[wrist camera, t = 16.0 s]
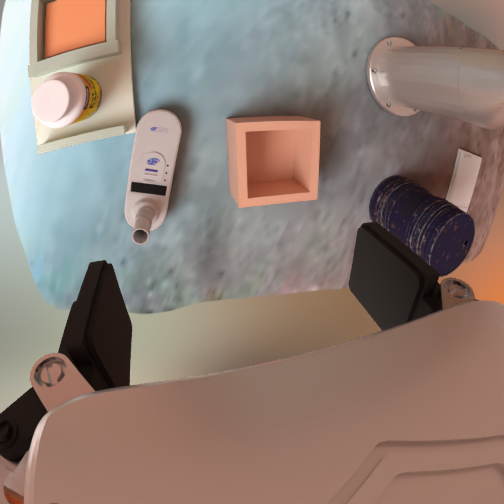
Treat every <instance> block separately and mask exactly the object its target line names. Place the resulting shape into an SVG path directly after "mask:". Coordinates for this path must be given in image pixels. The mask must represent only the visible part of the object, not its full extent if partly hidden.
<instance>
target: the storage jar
mask: <svg viewBox="0 0 504 504" xmlns="http://www.w3.org/2000/svg"><path fill="white" fill-rule="evenodd" d="M369 215H370V219H371V221H372V222H377V223H378V224H380V225H381V226H382V227H384V228H385V229H386V230H388V231H389V232H390V233H391V234H393V235H394V236H395V237H396V238H398V239H399V240H400V241H401V242H403V243H404V244H405V245H406V246H408V247H409V248H410V249H411V250H412V251H414V252H415V253H416V254H417V255H418V256H420V257H421V258H422V259H423V260H424V261H426V262H427V263H428V264H429V265H430V266H431V267H433V268H434V269H435V270H436V271H437V272H438V273H439V274H440V275H439V277H443V276H446V275H448V274H450V273H451V272H453V271H454V270H455V269H456V268H457V267H458V266H459V265H460V264H461V263H462V262H463V260H464V259H465V258H466V256H467V254H468V252H469V250H470V248H471V246H472V243H473V240H474V235H475V223H474V220H473V218H472V217H471V215H469V214H467V213H466V212H464V211H463V210H461V209H459V208H458V207H457V206H456V205H454V204H452V203H451V202H448V201H447V200H445V199H442V198H439V197H436V196H434V195H432V194H430V193H429V192H428V191H427V190H426V189H424V188H423V187H421V186H420V185H418V184H416V183H414V182H413V181H409V180H407V179H405V178H403V177H401V176H391V177H388V178H386V179H385V180H383V181H382V182H381V183H380V184H379V185H378V186H377V188H376V189H375V191H374V192H373V194H372V197H371V200H370V204H369Z"/></svg>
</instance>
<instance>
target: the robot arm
mask: <svg viewBox="0 0 504 504" xmlns="http://www.w3.org/2000/svg"><path fill="white" fill-rule="evenodd" d="M366 74H367V81H368V85H369V88H370V90H371V93H372V95H373V97H374V98H375V100H376V101H377V103H378V104H379V105H380V106H381V107H382V108H383V109H385V110H386V111H387V112H389V113H391V114H394V115H398V116H404V117H405V116H411V115H414V114H416V113H417V112H419V111H420V110H421V111H425V112H429V113H434V114H438V115H441V116H445V117H449V118H453V119H456V120H460V121H463V122H467V123H470V124H473V125H476V126H480V127H483V128H486V129H492V130H497V129H503V128H504V50H492V49H482V48H470V47H453V46H415V45H414V44H413V43H411V42H410V41H408V40H406V39H404V38H400V37H390V38H385V39H383V40H380V41H379V42H378V43H377V44H375V45H374V47H373V48H372V50H371V51H370V54H369V56H368V60H367V67H366ZM439 275H440V274H439V273H438V272H437V271H436V270H435V269H434V268H433V267H431V266H430V265H429V264H428V263H427V262H426V261H424V260H423V259H422V258H421V257H420V256H418V255H417V254H416V253H415V252H414V251H412V250H411V249H410V248H409V247H408V246H406V245H405V244H404V243H403V242H401V241H400V240H399V239H398V238H396V237H395V236H394V235H393V234H391V233H390V232H389V231H388V230H386V229H385V228H384V227H382V226H381V225H380V224H378V223H377V222H370V223H363V224H362V225H361V227H360V228H359V229H358V231H357V238H356V245H355V251H354V257H353V263H352V269H351V274H350V280H349V287H350V290H351V292H352V293H353V294H354V295H355V297H356V298H357V299H358V300H359V302H360V303H361V304H362V305H363V306H364V308H365V309H366V310H367V311H368V313H369V314H370V316H371V317H372V318H373V319H374V321H375V322H376V323H377V325H378V326H379V327H380V328H381V330H382V331H380V332H377V333H374V334H371V335H368V336H364V337H361V338H358V339H355V340H351V341H348V342H345V343H341V344H338V345H334V346H331V347H327V348H323V349H320V350H316V351H312V352H308V353H305V354H300V355H296V356H292V357H288V358H284V359H280V360H275V361H271V362H267V363H262V364H257V365H253V366H248V367H243V368H238V369H233V370H228V371H222V372H217V373H211V374H205V375H199V376H193V377H187V378H180V379H173V380H166V381H159V382H153V383H145V384H138V385H131V386H130V358H131V339H132V324H131V320H130V317H129V315H128V312H127V309H126V306H125V303H124V300H123V297H122V294H121V291H120V288H119V285H118V282H117V278H116V275H115V272H114V269H113V266H112V264H111V263H110V264H107V262H106V261H105V260H103V261H96V262H91V263H90V264H89V267H88V269H87V272H86V275H85V278H84V280H83V283H82V286H81V289H80V292H79V295H78V298H77V301H75V302H73V304H72V307H71V310H70V313H69V317H68V320H67V323H66V327H65V330H64V334H63V337H62V340H61V344H60V348H59V351H58V353H52V354H48V355H45V356H44V357H42V358H40V359H39V360H38V361H37V362H36V363H35V365H34V366H33V367H32V370H31V373H30V381H31V383H32V386H33V387H32V388H30V389H29V390H28V391H27V392H26V393H24V394H23V395H22V396H21V397H20V398H18V399H17V400H16V401H15V402H14V403H13V404H11V405H10V406H9V407H8V408H6V410H4V411H3V412H2V413H1V414H0V504H504V305H503V304H501V303H498V302H494V301H480V300H476V299H475V296H474V292H473V290H472V288H471V287H470V286H469V285H468V284H467V283H465V282H464V281H462V280H459V279H456V278H445V279H443V280H442V281H441V284H439V283H438V282H437V281H438V278H439Z"/></svg>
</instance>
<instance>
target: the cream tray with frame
mask: <svg viewBox="0 0 504 504" xmlns="http://www.w3.org/2000/svg"><path fill="white" fill-rule="evenodd" d="M54 1H57V0H32V2H31V15H30V46H29V48H30V65H28V72H29V77H30V80H31V94H32V98H33V95H34V93H35V91H36V89H37V88H38V87H39V86H40V85H41V84H42V83H43V82H44V81H45V80H46V79H47V78H48V77H50V76H51V75H53V74H55V73H59V72H71V73H77V74H82V75H88V76H91V77H93V78H94V79H96V80H97V81H98V83H99V84H100V86H101V89H102V101H101V104H100V106H99V108H98V110H97V111H96V112H95V113H94V114H93V115H92V116H91V117H89V118H88V119H85V120H83V121H80V122H77V123H74V124H71V125H68V126H66V127H62V128H50V127H47V126H45V125H44V124H43V123H41V122H40V121H39V120H38V119H37V118H36V117H35V116H34V122H35V129H36V136H37V142H38V146H37V152H38V154H42V153H45V152H49V151H53V150H56V149H60V148H64V147H68V146H72V145H76V144H80V143H84V142H89V141H93V140H98V139H102V138H107V137H112V136H117V135H122V134H127V133H133V132H136V127H137V126H136V116H135V105H134V93H133V79H132V60H131V23H130V9H131V0H107V10H106V39H107V42H104V43H100V44H95V45H91V46H87V47H84V48H80V49H76V50H73V51H69V52H66V53H63V54H60V55H57V56H53V57H50V58H46V46H45V38H46V9H47V4H49V3H51V2H54Z"/></svg>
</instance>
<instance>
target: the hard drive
mask: <svg viewBox="0 0 504 504" xmlns="http://www.w3.org/2000/svg"><path fill="white" fill-rule="evenodd" d="M481 160H482V158H481V157H479V156H477V155H474V154H472V153H470V152H467V151H464V150H462V149H458V154H457V158H456V162H455V166H454V170H453V174H452V178H451V182H450V186H449V189H448V193H447V196H446V200H447V201H448V202H451V203H452V204H454V205H456V206H457V207H458V208H459V209H461V210H463V211H464V212H466V213H467V210H468V207H469V203H470V200H471V197H472V194H473V190H474V187H475V183H476V180H477V176H478V172H479V168H480V164H481Z"/></svg>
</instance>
